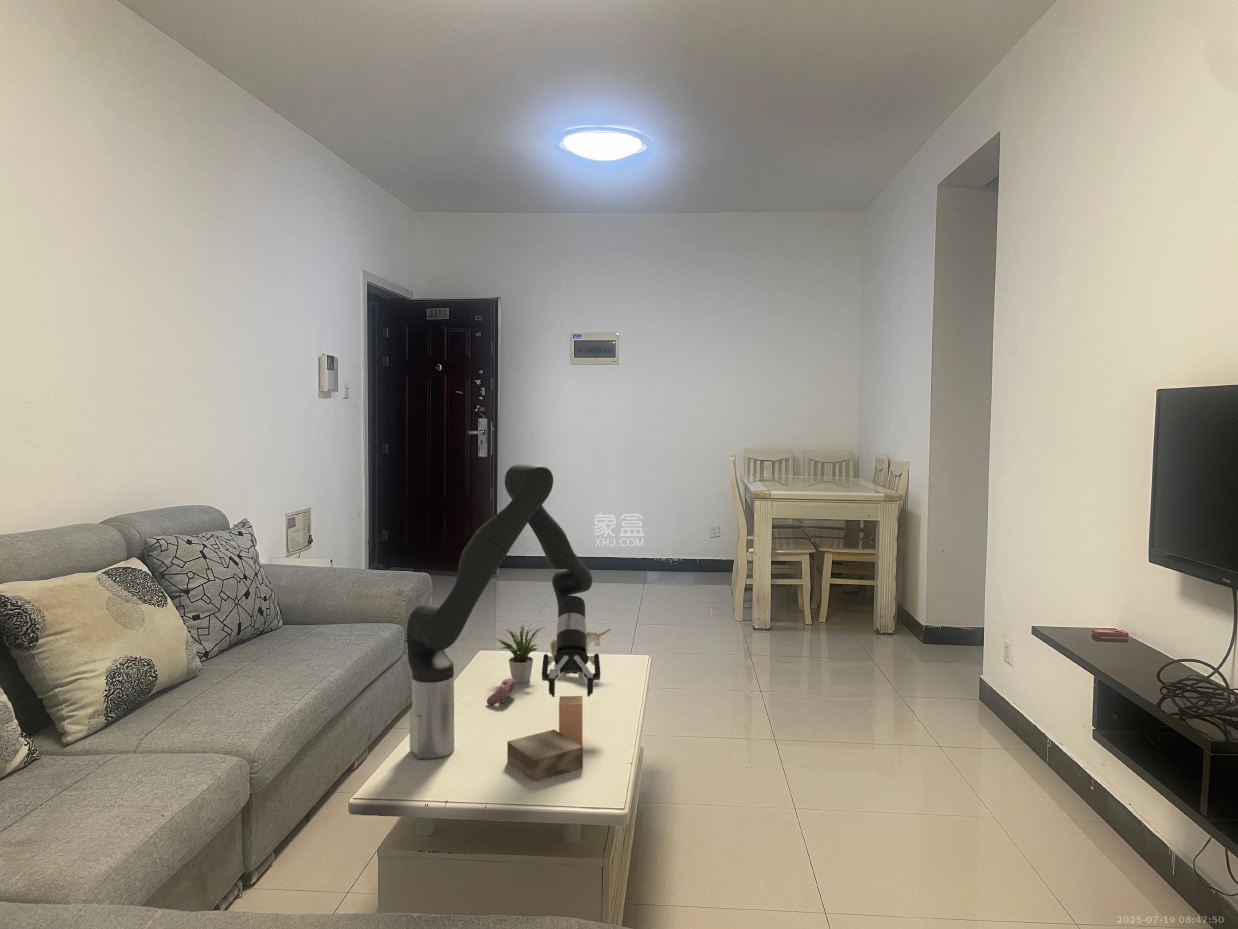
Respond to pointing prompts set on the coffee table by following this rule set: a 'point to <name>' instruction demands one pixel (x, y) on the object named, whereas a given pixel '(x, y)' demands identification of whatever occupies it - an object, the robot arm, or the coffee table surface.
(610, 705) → the coffee table surface
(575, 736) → the peach block
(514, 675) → the house plant
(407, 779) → the coffee table surface
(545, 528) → the robot arm
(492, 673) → the coffee table surface
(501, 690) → the pink rounded piece
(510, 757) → the walnut block
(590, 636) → the unicorn figurine
